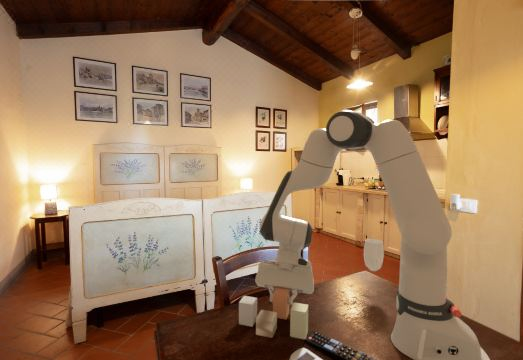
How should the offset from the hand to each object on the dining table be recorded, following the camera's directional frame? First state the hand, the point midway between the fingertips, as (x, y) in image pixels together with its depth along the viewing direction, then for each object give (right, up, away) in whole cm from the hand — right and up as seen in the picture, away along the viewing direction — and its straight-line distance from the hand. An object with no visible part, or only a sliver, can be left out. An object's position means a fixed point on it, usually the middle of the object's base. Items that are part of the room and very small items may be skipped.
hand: (280, 302), depth 89 cm
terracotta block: (0, -4, +1) cm, 4 cm away
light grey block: (-11, -5, -3) cm, 12 cm away
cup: (+36, -4, +15) cm, 40 cm away
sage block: (+5, -5, -9) cm, 11 cm away
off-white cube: (-5, -5, -8) cm, 11 cm away
